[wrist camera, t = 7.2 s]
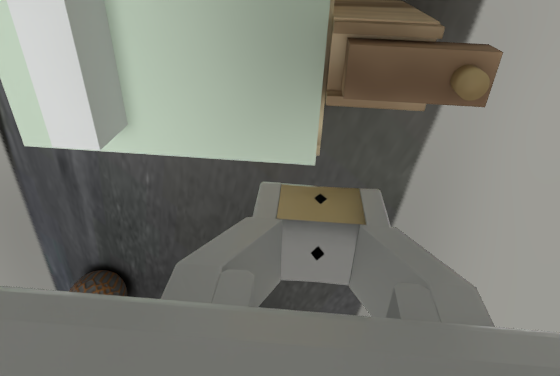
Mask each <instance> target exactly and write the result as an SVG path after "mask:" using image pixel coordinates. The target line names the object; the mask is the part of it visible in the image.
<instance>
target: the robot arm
mask: <svg viewBox="0 0 560 376" xmlns="http://www.w3.org/2000/svg"><path fill="white" fill-rule="evenodd" d="M280 280H292V281H311V282H314V281H315V282H322V283H332V284H341V285H349V287H350V289H351V290H352V291H353V293H354V294H355V295H356V297H357V298H358V299H359V301H360V302H361V303H362V305H363V306H364V307H365V309H366V310H367V311H368V313H369V314H370V315H371V316H372V317H367V316H356V315H344V314H332V313H320V312H308V311H296V310H284V309H272V308H260V307H258V306H259V305H260V304H261V303H262V302H263V301H264V299H265V298H266V297H267V296H268V295H269V294H270V293H271V291H272V290H273V289H274V288H275V287H276V286H277V285H278V283H279V282H280ZM0 376H560V332H550V331H538V330H525V329H513V328H501V327H495V326H494V324H493V322H492V320H491V318H490V315H489V314H488V311H487V309H486V307H485V305H484V303H483V301H482V299H481V296H480V294H479V292H478V290H477V288H476V287H475V286H473V285H472V284H471V283H470V282H468V281H467V280H466V279H464V278H463V277H462V276H460V275H459V274H457V273H456V272H455V271H454V270H452V269H451V268H450V267H448V266H447V265H446V264H444V263H443V262H442V261H440V260H439V259H437V258H436V257H435V256H434V255H432V254H431V253H430V252H428V251H427V250H426V249H424V248H423V247H422V246H420V245H419V244H418V243H416V242H415V241H414V240H412V239H411V238H410V237H408V236H407V235H406V234H404V233H403V232H402V231H400V230H399V229H398V228H396V227H391V226H390V223H389V219H388V216H387V212H386V209H385V205H384V202H383V198H382V195H381V191H380V190H379V189H359V188H336V187H320V186H310V185H298V184H286V183H282V184H281V183H276V182H262V183H261V184H260V188H259V192H258V196H257V201H256V205H255V209H254V213H253V217H246V218H245V219H243V220H242V221H240V222H239V223H237V224H236V225H234V226H233V227H231V228H230V229H228V230H227V231H225V232H223V233H222V234H220V235H219V236H217V237H216V238H214V239H213V240H211V241H210V242H208V243H207V244H205V245H204V246H202V247H201V248H199V249H198V250H196V251H195V252H193V253H192V254H190V255H189V256H187V257H186V258H184V259H183V260H181V261H180V262H178V263H177V264H176V266H175V268H174V270H173V273H172V275H171V277H170V279H169V281H168V284H167V286H166V288H165V290H164V292H163V295H162V297H161V299H152V298H140V297H128V296H116V295H104V294H92V293H80V292H68V291H56V290H44V289H32V288H20V287H8V286H0Z"/></svg>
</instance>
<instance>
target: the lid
mask: <svg viewBox="0 0 560 376" xmlns="http://www.w3.org/2000/svg"><path fill="white" fill-rule="evenodd" d="M329 9H330V0H0V79H1V81H2V84H3V87H4V90H5V93H6V95H7V98H8V101H9V104H10V107H11V109H12V112H13V115H14V118H15V121H16V124H17V126H18V129H19V132H20V135H21V138H22V140H23V143H24V146H32V147H47V148H62V149H77V150H92V151H107V152H122V153H137V154H152V155H167V156H182V157H197V158H212V159H227V160H242V161H257V162H272V163H287V164H302V165H315V160H316V149H317V138H318V128H319V117H320V106H321V95H322V85H323V74H324V63H325V52H326V41H327V31H328V20H329Z"/></svg>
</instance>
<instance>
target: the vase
mask: <svg viewBox="0 0 560 376" xmlns="http://www.w3.org/2000/svg"><path fill="white" fill-rule="evenodd" d="M69 292H80V293H92V294H104V295H116V296H127V288H126V285H125V283H124V281H123V280H122V278H121V277H120V276H119V275H117V274H116V273H114V272H112V271H108V270H98V271H93V272H90V273H88V274H86V275H84V276H83V277H81V278H80V279H79V280H78V281H77V282H76V283H75V284H74V285H73V286H72V288H71V289H70V291H69Z"/></svg>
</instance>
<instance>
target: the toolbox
mask: <svg viewBox="0 0 560 376" xmlns="http://www.w3.org/2000/svg"><path fill="white" fill-rule="evenodd" d="M444 29H445V27H444V26H442V25H440V22H439V21H437V20H435V19H434V18H432V17H430V16H428V15H427V14H425V13H423V12H421V11H420V10H418V9H416V8H414V7H413V6H411V5H409V4H407V3H405V2H404V1H399V0H330V9H329V20H328V31H327V41H326V52H325V63H324V74H323V85H322V95H321V106H320V117H319V128H318V138H317V149H316V155H319V154H320V143H321V133H322V123H323V113H324V103H325V100H326V105H329V106H346V107H363V108H380V109H397V110H414V111H425V106H426V104H422V103H405V102H388V101H370V100H353V99H343V95H342V90H341V87H342V78H343V70H344V62H345V53H346V45H347V37H349V38H370V39H390V40H410V41H430V42H436V38H437V39H442V37H443V33H444Z"/></svg>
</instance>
